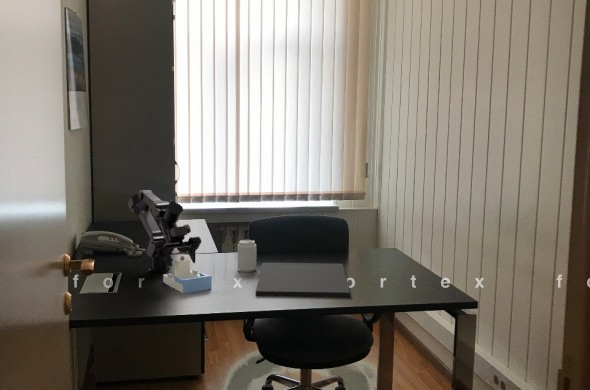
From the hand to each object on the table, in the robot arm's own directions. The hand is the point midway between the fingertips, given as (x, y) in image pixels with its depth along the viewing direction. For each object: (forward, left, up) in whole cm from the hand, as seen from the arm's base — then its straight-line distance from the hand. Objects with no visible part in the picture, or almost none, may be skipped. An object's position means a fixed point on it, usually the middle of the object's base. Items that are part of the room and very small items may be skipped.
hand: (183, 264), depth 232 cm
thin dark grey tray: (+40, +21, -8) cm, 45 cm away
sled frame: (+2, -2, -7) cm, 8 cm away
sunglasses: (-24, +37, -8) cm, 45 cm away
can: (+14, +27, -8) cm, 31 cm away
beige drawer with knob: (-1, 0, -7) cm, 7 cm away
